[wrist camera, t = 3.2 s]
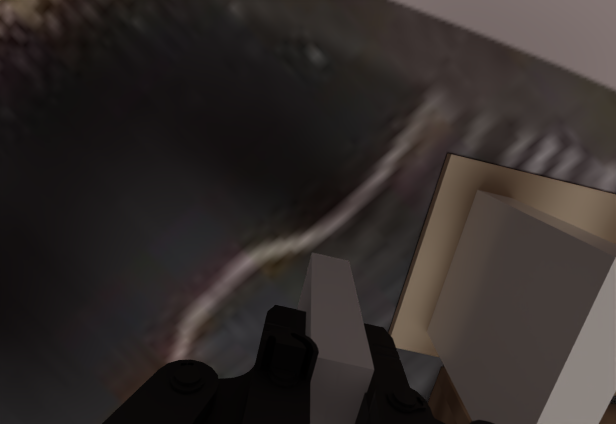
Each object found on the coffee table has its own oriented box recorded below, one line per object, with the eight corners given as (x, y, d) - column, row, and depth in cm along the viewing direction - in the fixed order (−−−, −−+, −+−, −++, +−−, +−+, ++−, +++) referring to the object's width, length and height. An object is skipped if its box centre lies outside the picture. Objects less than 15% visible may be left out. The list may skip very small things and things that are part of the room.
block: (426, 331, 23) (506, 487, 14) (477, 189, 21) (615, 257, 11) (460, 339, 24) (563, 499, 14) (514, 198, 21) (683, 273, 12)
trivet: (385, 340, 24) (387, 345, 24) (447, 153, 21) (451, 154, 21) (681, 404, 25) (690, 411, 25) (780, 234, 22) (793, 238, 22)
